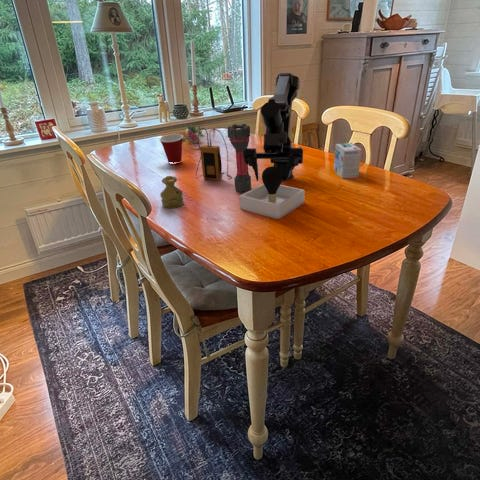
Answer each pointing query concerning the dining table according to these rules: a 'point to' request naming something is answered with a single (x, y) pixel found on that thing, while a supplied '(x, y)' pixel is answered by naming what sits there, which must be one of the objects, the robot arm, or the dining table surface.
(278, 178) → the light bulb
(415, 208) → the dining table surface
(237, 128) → the flashlight
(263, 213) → the parts tray
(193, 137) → the flower vase
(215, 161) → the multimeter
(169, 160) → the plastic cup
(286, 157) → the robot arm
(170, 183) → the brown money bag
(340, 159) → the light bulb box
